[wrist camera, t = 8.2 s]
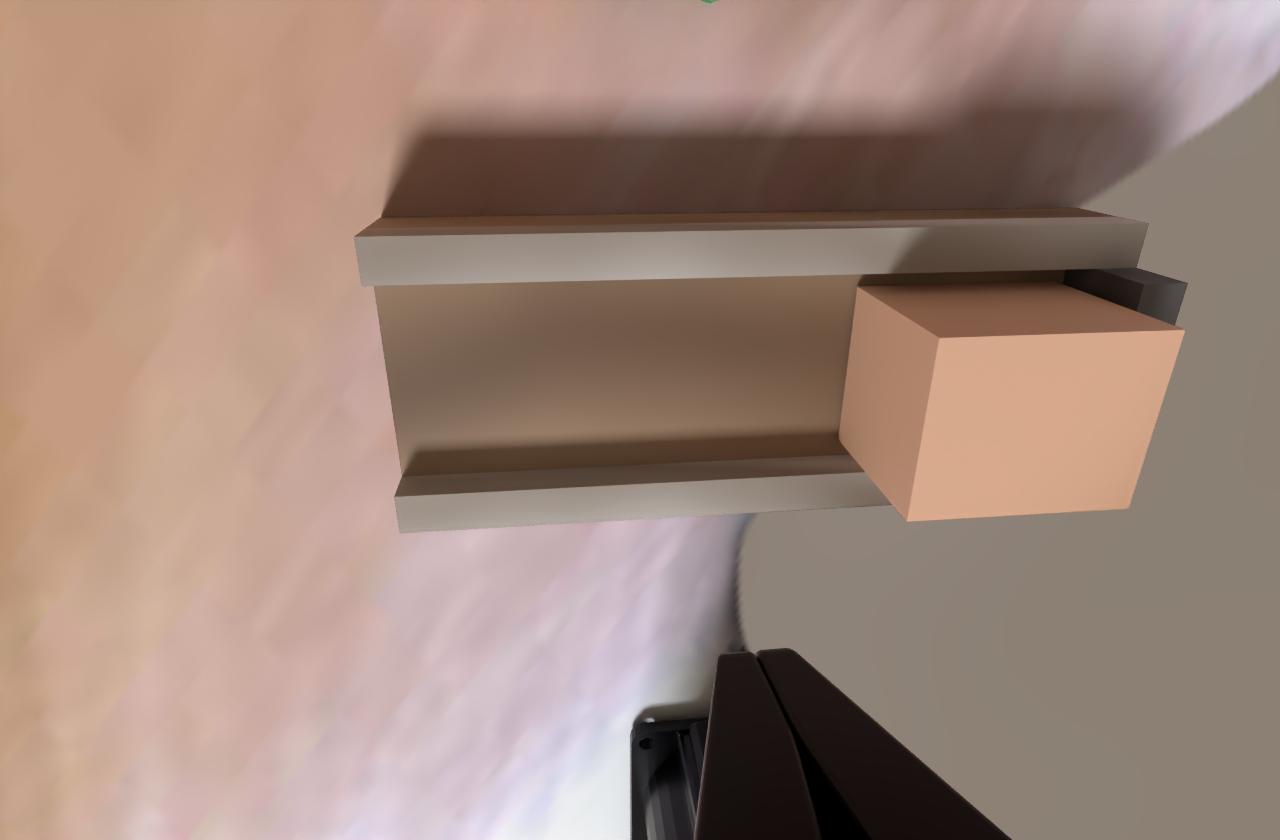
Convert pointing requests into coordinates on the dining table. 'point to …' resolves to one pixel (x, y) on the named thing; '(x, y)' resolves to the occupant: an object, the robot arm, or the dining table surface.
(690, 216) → the track
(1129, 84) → the dining table surface
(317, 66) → the dining table surface
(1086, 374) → the block
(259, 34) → the dining table surface
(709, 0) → the stack of blocks
